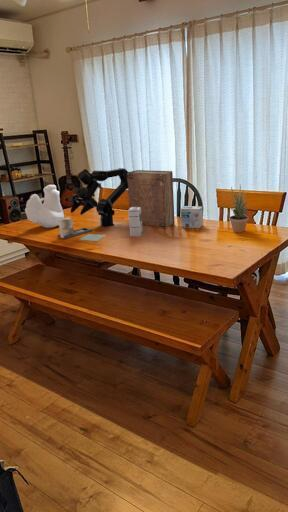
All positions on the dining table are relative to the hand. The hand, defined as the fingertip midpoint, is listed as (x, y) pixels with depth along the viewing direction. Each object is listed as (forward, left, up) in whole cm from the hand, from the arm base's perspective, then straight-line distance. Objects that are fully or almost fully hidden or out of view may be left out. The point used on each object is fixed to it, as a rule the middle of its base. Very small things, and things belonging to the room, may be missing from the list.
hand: (75, 213), depth 223 cm
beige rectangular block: (+7, +2, -12) cm, 14 cm away
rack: (+2, 0, -12) cm, 12 cm away
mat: (-3, +14, -12) cm, 18 cm away
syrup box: (-24, +24, -12) cm, 36 cm away
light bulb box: (-56, +29, -12) cm, 64 cm away
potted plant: (-69, +53, -12) cm, 88 cm away
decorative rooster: (+11, -28, -12) cm, 32 cm away
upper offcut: (-1, 0, -11) cm, 11 cm away
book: (-42, +9, -12) cm, 45 cm away
